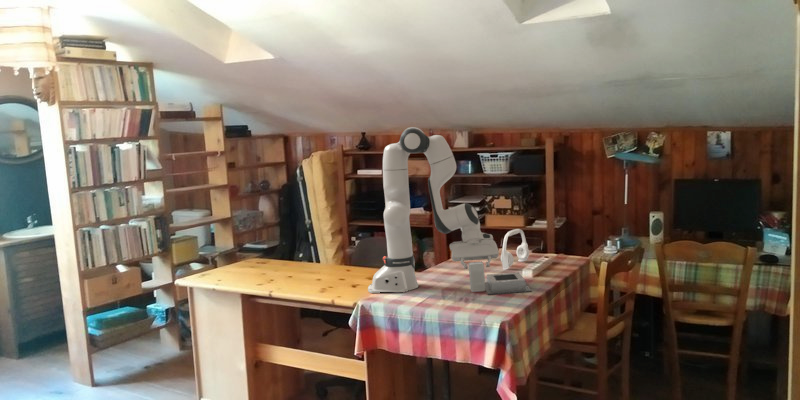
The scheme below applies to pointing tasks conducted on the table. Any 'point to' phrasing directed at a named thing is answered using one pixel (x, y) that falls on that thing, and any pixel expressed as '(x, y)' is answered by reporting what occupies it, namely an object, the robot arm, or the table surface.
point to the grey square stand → (505, 284)
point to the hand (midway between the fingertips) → (477, 267)
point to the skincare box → (477, 276)
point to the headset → (521, 251)
